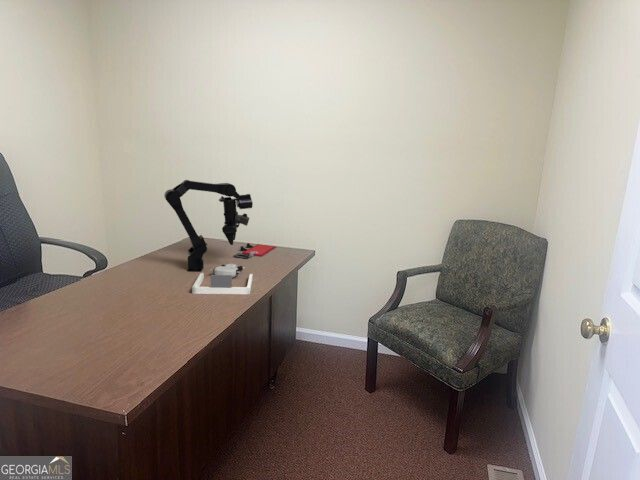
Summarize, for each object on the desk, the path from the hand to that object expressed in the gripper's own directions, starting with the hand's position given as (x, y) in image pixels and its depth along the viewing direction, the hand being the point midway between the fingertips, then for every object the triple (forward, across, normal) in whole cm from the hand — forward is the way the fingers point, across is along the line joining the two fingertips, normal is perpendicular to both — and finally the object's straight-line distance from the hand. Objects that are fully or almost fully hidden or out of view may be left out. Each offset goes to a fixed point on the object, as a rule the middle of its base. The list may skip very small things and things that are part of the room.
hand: (232, 242), depth 201 cm
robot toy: (+12, -13, +1) cm, 18 cm away
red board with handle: (+14, +29, -7) cm, 33 cm away
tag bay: (+11, -28, +1) cm, 30 cm away
